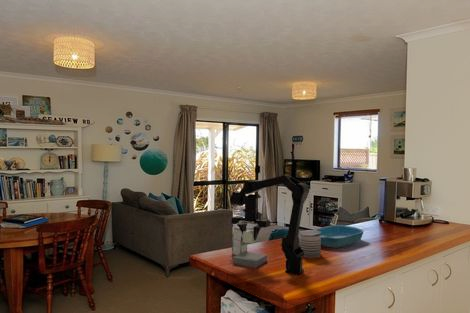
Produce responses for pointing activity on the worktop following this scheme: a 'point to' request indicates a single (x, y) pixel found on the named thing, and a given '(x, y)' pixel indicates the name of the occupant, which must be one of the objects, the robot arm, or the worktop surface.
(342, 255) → the worktop surface
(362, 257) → the worktop surface
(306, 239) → the can
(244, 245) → the syrup box
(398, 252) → the worktop surface
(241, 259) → the plinth
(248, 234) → the cube
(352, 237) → the casserole dish
